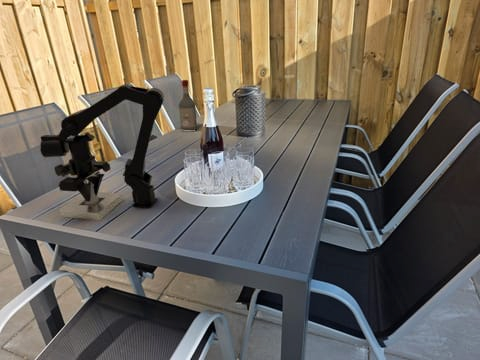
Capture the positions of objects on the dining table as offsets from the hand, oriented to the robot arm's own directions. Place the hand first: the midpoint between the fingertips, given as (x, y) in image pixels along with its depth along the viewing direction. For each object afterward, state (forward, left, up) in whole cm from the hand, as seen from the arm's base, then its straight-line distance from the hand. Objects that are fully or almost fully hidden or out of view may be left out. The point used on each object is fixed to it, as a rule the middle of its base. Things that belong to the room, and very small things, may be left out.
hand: (91, 198), depth 107 cm
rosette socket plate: (0, 0, -4) cm, 4 cm away
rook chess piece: (0, 0, -3) cm, 3 cm away
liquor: (+2, -102, -4) cm, 102 cm away
